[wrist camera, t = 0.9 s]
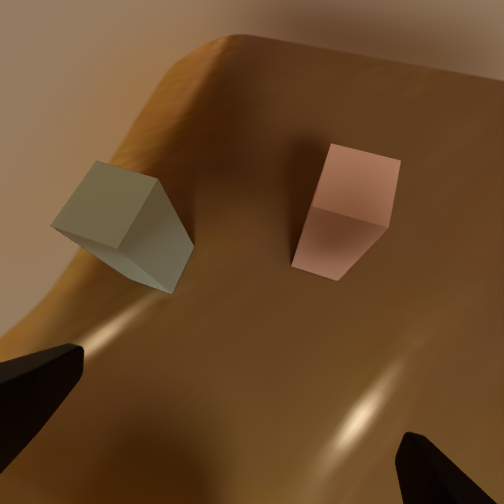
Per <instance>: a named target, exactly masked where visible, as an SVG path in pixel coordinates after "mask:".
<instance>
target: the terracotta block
mask: <svg viewBox="0 0 504 504" xmlns="http://www.w3.org/2000/svg"><path fill="white" fill-rule="evenodd" d="M400 163H401V161H400V160H396V159H392V158H388V157H384V156H380V155H376V154H372V153H368V152H364V151H360V150H355V149H351V148H347V147H343V146H339V145H335V144H331V146H330V149H329V152H328V155H327V158H326V161H325V164H324V167H323V170H322V173H321V176H320V179H319V182H318V185H317V188H316V191H315V194H314V197H313V200H312V203H311V206H310V209H309V212H308V215H307V218H306V221H305V224H304V227H303V230H302V233H301V236H300V240H299V243H298V246H297V249H296V252H295V256H294V259H293V262H292V265H291V266H292V267H295V268H299V269H302V270H305V271H308V272H311V273H314V274H317V275H320V276H324V277H327V278H330V279H333V280H336V281H338V280H339V279H340V278H341V277H342V276H343V275H344V274H345V273H346V272H347V271H348V270H349V269H350V268H351V267H352V266H353V264H354V263H355V262H356V261H357V260H358V259H359V258H360V257H361V256H362V255H363V254H364V253H365V252H366V251H367V250H368V249H369V248H370V247H371V246H372V245H373V244H374V242H375V241H376V240H377V239H378V238H379V237H380V236H381V235H382V234H383V233H384V232H385V231H386V230H387V229H388V228H389V223H390V217H391V212H392V207H393V201H394V196H395V190H396V185H397V179H398V174H399V168H400Z"/></svg>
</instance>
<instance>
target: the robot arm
mask: <svg viewBox="0 0 504 504" xmlns="http://www.w3.org/2000/svg"><path fill="white" fill-rule="evenodd" d="M83 363H84V349H83V347H82V346H79V345H75V344H70V343H68V344H64V345H60V346H57V347H53V348H50V349H46V350H43V351H39V352H36V353H32V354H29V355H25V356H22V357H18V358H15V359H11V360H8V361H4V362H1V363H0V474H1V473H2V472H3V471H4V470H5V468H6V467H7V466H8V465H9V464H10V463H11V462H12V461H13V460H14V459H15V458H16V456H17V455H18V454H19V453H20V452H21V451H22V450H23V449H24V448H25V447H26V446H27V444H28V443H29V442H30V441H31V440H32V439H33V438H34V437H35V436H36V434H37V433H38V432H39V431H40V430H41V428H42V427H43V426H44V425H45V424H46V422H47V421H48V420H49V418H50V417H51V416H52V415H53V413H54V412H55V411H56V409H57V408H58V407H59V406H60V404H61V403H62V402H63V400H64V399H65V398H66V397H67V395H68V394H69V393H70V392H71V390H72V389H73V388H74V386H75V385H76V384H77V383H78V381H79V380H80V378H81V376H82V373H83ZM395 466H396V471H397V476H398V481H399V485H400V490H401V495H402V499H403V504H497V503H496V502H495V501H494V500H493V499H491V498H490V497H489V496H488V495H487V494H486V493H485V492H484V491H483V490H482V489H481V488H480V487H479V486H478V485H476V484H475V483H474V482H473V481H472V480H471V479H470V478H469V477H468V476H467V475H466V474H465V473H464V472H463V471H461V470H460V469H459V468H458V467H457V466H456V465H455V464H454V463H453V462H452V461H451V460H450V459H449V458H448V457H447V456H445V455H444V454H443V453H442V452H441V451H440V450H439V449H438V448H437V447H436V446H435V445H434V444H433V443H432V442H430V441H429V440H428V439H427V438H426V437H425V436H423V435H420V434H417V433H413V432H406V433H405V434H404V436H403V438H402V441H401V443H400V446H399V448H398V451H397V453H396V457H395Z"/></svg>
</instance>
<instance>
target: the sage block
mask: <svg viewBox="0 0 504 504" xmlns="http://www.w3.org/2000/svg"><path fill="white" fill-rule="evenodd" d="M51 227H53V228H55V229H56V230H57V231H59V232H60V233H62V234H63V235H65V236H66V237H68V238H69V239H71V240H72V241H74V242H75V243H77V244H78V245H80V246H81V247H83V248H84V249H86V250H87V251H88V252H90V253H91V254H93V255H94V256H96V257H97V258H99V259H100V260H102V261H103V262H105V263H106V264H108V265H109V266H111V267H112V268H114V269H115V270H117V271H118V272H120V273H121V274H123V275H124V276H126V277H127V278H129V279H131V280H134V281H136V282H139V283H142V284H145V285H148V286H150V287H153V288H156V289H159V290H162V291H164V292H167V293H170V294H172V293H173V291H174V289H175V287H176V285H177V282H178V280H179V278H180V276H181V274H182V272H183V270H184V267H185V265H186V263H187V261H188V259H189V257H190V255H191V253H192V250H193V248H194V245H193V243H192V242H191V240H190V238H189V236H188V234H187V232H186V230H185V228H184V227H183V225H182V223H181V221H180V219H179V217H178V215H177V213H176V211H175V210H174V208H173V206H172V204H171V202H170V200H169V198H168V196H167V195H166V193H165V191H164V189H163V187H162V185H161V183H160V181H159V179H157V178H154V177H151V176H147V175H144V174H140V173H137V172H134V171H130V170H127V169H123V168H120V167H116V166H113V165H110V164H106V163H103V162H99V161H96V162H95V163H94V165H93V166H92V168H91V169H90V170H89V172H88V173H87V175H86V176H85V177H84V179H83V180H82V182H81V183H80V185H79V186H78V188H77V189H76V190H75V192H74V193H73V195H72V196H71V197H70V199H69V200H68V202H67V203H66V204H65V206H64V207H63V209H62V210H61V212H60V213H59V214H58V216H57V217H56V218H55V220H54V221H53V223H52V224H51Z"/></svg>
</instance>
